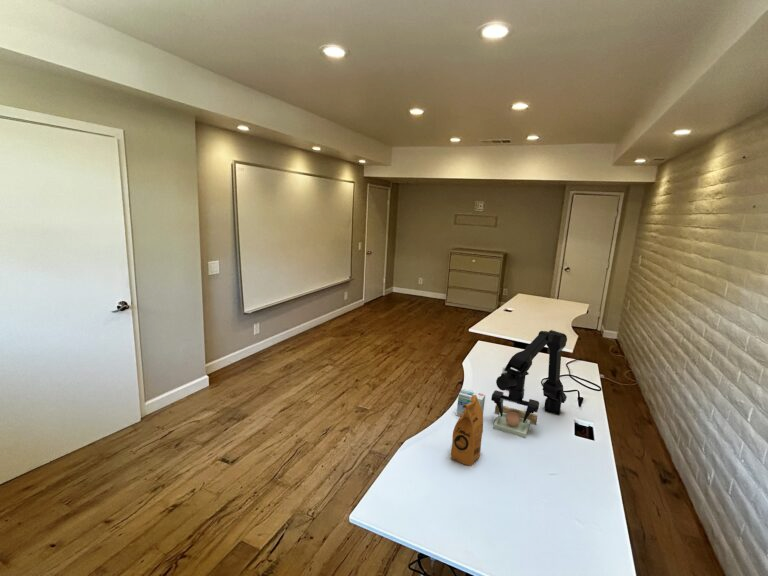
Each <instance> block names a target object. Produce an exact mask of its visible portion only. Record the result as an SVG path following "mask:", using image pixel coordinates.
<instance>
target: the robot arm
mask: <svg viewBox="0 0 768 576" xmlns="http://www.w3.org/2000/svg"><path fill="white" fill-rule="evenodd" d="M567 341H568V337H567V335H566V334H565V333H564V332H559V331H556V330H553V329H550V330H549V331H547V330H541V331H539V332H538V334H537V336H535V338H534V339H533V340H532V341H531V342H530V343H529V344H527V347H525V348H524V350H521V351H518V352H516V353H515V354H514V355H512V356H511V358H510V359H509V361H508V363H507V364H506V365H507V366H506V365H505V366H506V367H505V369H504V371H506V372H507V373H502V372H501V374H500V375H499V376H498V377H497V378H496V380H495V382H496V383H495V384H496V386H497V388H498V389H499V390H500V391H499V390H494V391H493V392H492V395H491V399H490V400H491V401H492V402H494V404H495V405H496V404H497V406H498V408H499V411H500V415H501V417H502V415H503V406H504V401H506V402H510V403H513V404H517V405H522V406H525V407H526V410H525V412H526V413H525V416H524V420H523V423H524V422H525V421H526V419H527V417H528V416H529V415H530V413H532V414H535V413H538V411H539V407H540V402H539V401H538V400H534V399H532V398H530V399H529V400H528V401H527V400H525V399H524V397H525V384H526V383H525V381H526V377H527V376H528V375H529V372H528V371H529V370H530V368H531V367H532V365H533V359H534V358H535V357H536V356H537V355H538V354H539V353H540V352H541V351H542V350H543V349H544V348H545V346H547V348H548V350H549V354H548V368H547V369H548V372H547V374H548V375H547V379H546V380H545V381H544V382H543V383H542V389H541V390H542V391H543V392H542V393H543V397H546V398H545V401H544V407H543V408H544V412H546V413H549V414H554V415H558V416H560V414H561V410H562V409H561V408H562V407H561V406H562V404H565V402H566V400H567V395H566V394H565V392H564V385H563V383H562V381H561V365H562V351H563V350H564V349H565V347H566V346H567ZM511 367H512V368H514V369H516V370H518V371H516V370H513V369H511ZM507 390H508V391H507ZM503 391H507V392H508V395H505V394H504V393H505V392H503ZM523 399H524V400H523Z"/></svg>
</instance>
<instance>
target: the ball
mask: <svg viewBox="0 0 768 576" xmlns="http://www.w3.org/2000/svg"><path fill="white" fill-rule="evenodd" d="M506 422H507V423H508V424H509V425H511V426H517V425H518V424H519V423H520V416H519V415H518V413H516V412H514V411H511V412H508V413H507V415H506Z"/></svg>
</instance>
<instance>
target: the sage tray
mask: <svg viewBox="0 0 768 576" xmlns="http://www.w3.org/2000/svg"><path fill="white" fill-rule="evenodd" d="M506 415H507V414H506V413H503V415H502V417H501V415H500V413H499V414H497V417H496V419H495V421H494V423H493V427H492V428H493V429H495V430H497V431H502V432H504V433H507V434H511V435H514V436H518V437H521V438H524V439H526V438H527V434H528V431H529V428H530V425H531V423H530V420H528V419H526V421H525V422H524V423H523V420H524V418H521V417H520V423H519V424H518V425H517V426H511V425H509V424H508V423H507V422H506Z"/></svg>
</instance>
